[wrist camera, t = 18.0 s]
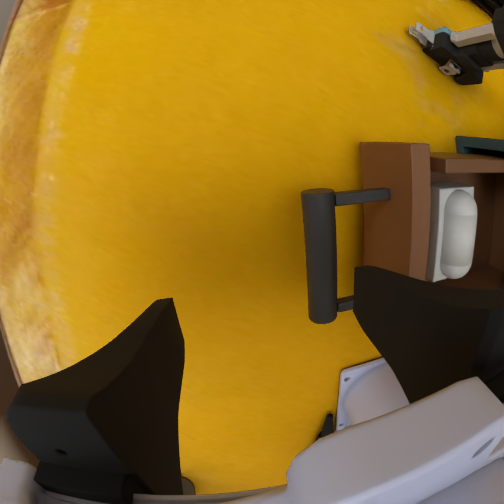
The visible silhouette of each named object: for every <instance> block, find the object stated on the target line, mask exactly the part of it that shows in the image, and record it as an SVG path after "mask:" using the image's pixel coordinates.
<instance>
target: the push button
mask: <svg viewBox="0 0 504 504" xmlns="http://www.w3.org/2000/svg"><path fill="white" fill-rule="evenodd" d="M420 27H422V28H423V29H424V32H423V31H421V30H420ZM413 30H415V31H416V33H417V34H416V35H415V34H414V33H413ZM409 33H410V34H411V35H413V36H414V37H416V38H417V39H418V40H420V43H422V44H423V51H424V52H425V53H426V54H427V55H429V56H430V57H431V58H433V59H434V60H435V61H437V62H438V63H439V64H440V65H442V67H439V70H440V71H442V72H443V73H444V74H445V75H448V76H449V75H454V76H455V81H456V82H457V83H458V84H460V85H472V84H481V83H482V79H483V71H484V72H489V70H494V69H503V68H504V5H503V7H502V8H498V9H495V12H494V16H493V20H492V23H490V24H487V25H483V26H479V27H475V28H472V29H468V30H465V31H461V32H458V33H457V32H455V31H454V32H452V31H451V30H450V29H448V28H447V27H441V28H439V29H436V30H434V31H432V30H430V29H429V30H428V29H427V28H426V27H424V26H423V25H421V24H420V23H419V22H417V24H416V28H414V27H413V26H410V27H409ZM444 69H447V70H448V71H449V72H446V71H445V70H444Z"/></svg>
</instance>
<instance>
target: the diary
mask: <svg viewBox="0 0 504 504" xmlns="http://www.w3.org/2000/svg"><path fill="white" fill-rule="evenodd" d="M474 1H475V2H477V3H478V4H479V5H480V6H481V7H482V8H483V9H484V10H486V11H487V12H488V13H489V14H490V15H491V16H492V17H493V16H494V12H495V9H498V8H502V7H503V5H504V0H474Z"/></svg>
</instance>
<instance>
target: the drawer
mask: <svg viewBox="0 0 504 504" xmlns="http://www.w3.org/2000/svg"><path fill="white" fill-rule="evenodd" d="M360 154H361V168H362V185H363V189H361V190H351V191H342V192H334V191H333V190H332V189H324V188H320V189H309V190H305V191H302V192H301V200H302V212H303V225H304V238H305V253H306V269H307V287H308V310H309V319H310V320H311V321H312V322H314V323H317V324H327V323H330V322H332V321H334V320H335V319H336V317H337V312H342V311H347V310H351V309H353V300H354V295H352V296H348V297H343V298H339V299H337V245H336V219H335V206H342V205H350V204H358V203H363V210H364V266H366V265H371V266H376V267H380V268H383V269H387V270H390V271H393V272H396V273H400V274H403V275H406V276H409V277H413V278H416V279H419V280H423V281H427V282H431V283H435V284H440V285H445V286H451V287H458V288H467V289H483V290H493V289H503V286H504V157H502V156H496V155H485V154H466V153H430V151H429V144H422V143H402V142H360ZM451 181H454V182H458V183H462V184H466V185H470V186H473V187H474V200H475V202H476V205H477V225H476V235H475V244H474V252H473V259H472V264H471V267H470V269H469V271H468V272H467V273H466V274H465V275H464V276H463V277H461V278H458V279H451V278H446V279H443V280H439V281H436V282H432V281H431V280H429V279H428V278H426V277H425V274H426V265H427V255H428V243H429V227H430V195H431V183H434V182H451Z"/></svg>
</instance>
